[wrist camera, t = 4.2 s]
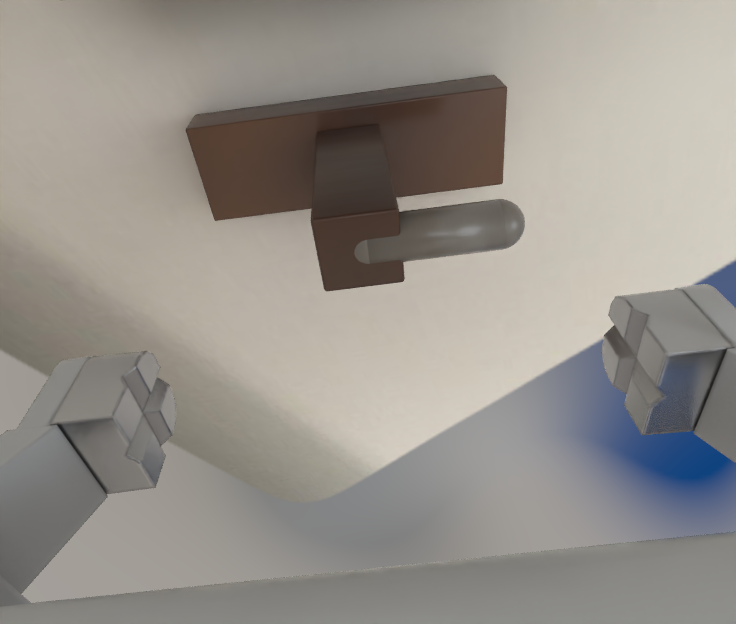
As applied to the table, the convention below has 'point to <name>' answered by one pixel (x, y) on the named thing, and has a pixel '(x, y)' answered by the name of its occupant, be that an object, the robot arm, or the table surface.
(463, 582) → the robot arm
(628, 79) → the table surface
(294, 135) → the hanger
